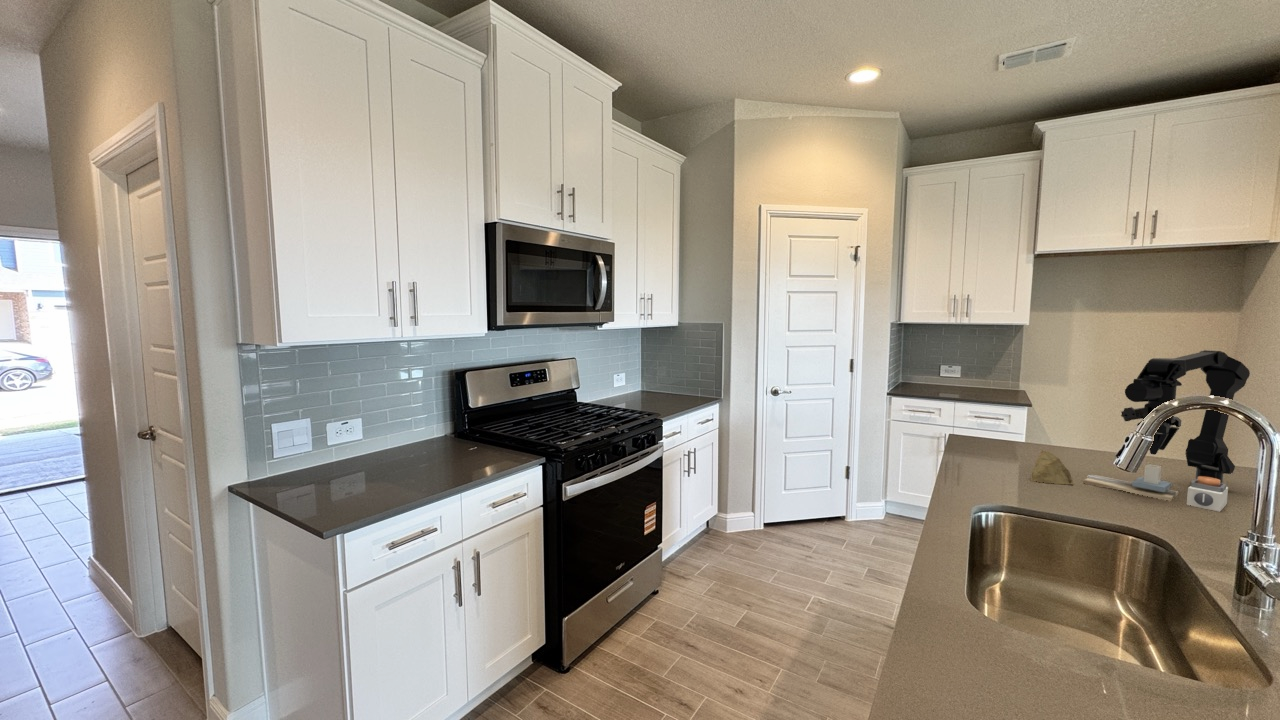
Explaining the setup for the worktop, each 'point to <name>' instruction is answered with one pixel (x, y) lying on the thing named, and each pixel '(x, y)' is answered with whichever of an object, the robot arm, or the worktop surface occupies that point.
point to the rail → (1129, 487)
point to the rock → (1050, 470)
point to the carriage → (1152, 479)
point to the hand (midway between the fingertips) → (1157, 451)
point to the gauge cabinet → (1207, 496)
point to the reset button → (1208, 481)
